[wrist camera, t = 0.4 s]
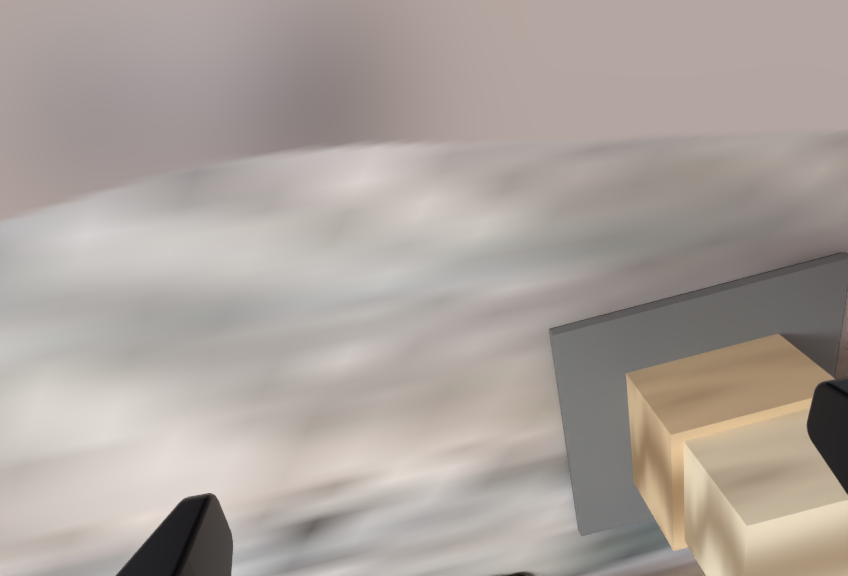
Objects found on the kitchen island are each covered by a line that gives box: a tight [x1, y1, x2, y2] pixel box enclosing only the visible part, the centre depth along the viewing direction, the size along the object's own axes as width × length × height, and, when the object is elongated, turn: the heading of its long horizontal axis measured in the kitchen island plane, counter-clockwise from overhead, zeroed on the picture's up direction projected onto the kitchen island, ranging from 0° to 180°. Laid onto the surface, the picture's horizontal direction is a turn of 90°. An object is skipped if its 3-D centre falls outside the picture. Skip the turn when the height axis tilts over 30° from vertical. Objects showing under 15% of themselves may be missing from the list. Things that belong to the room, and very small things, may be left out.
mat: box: [549, 252, 848, 536], centre depth 27 cm, size 13×13×1 cm
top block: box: [684, 408, 848, 576], centre depth 22 cm, size 6×6×4 cm
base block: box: [626, 334, 835, 551], centre depth 25 cm, size 7×7×4 cm
